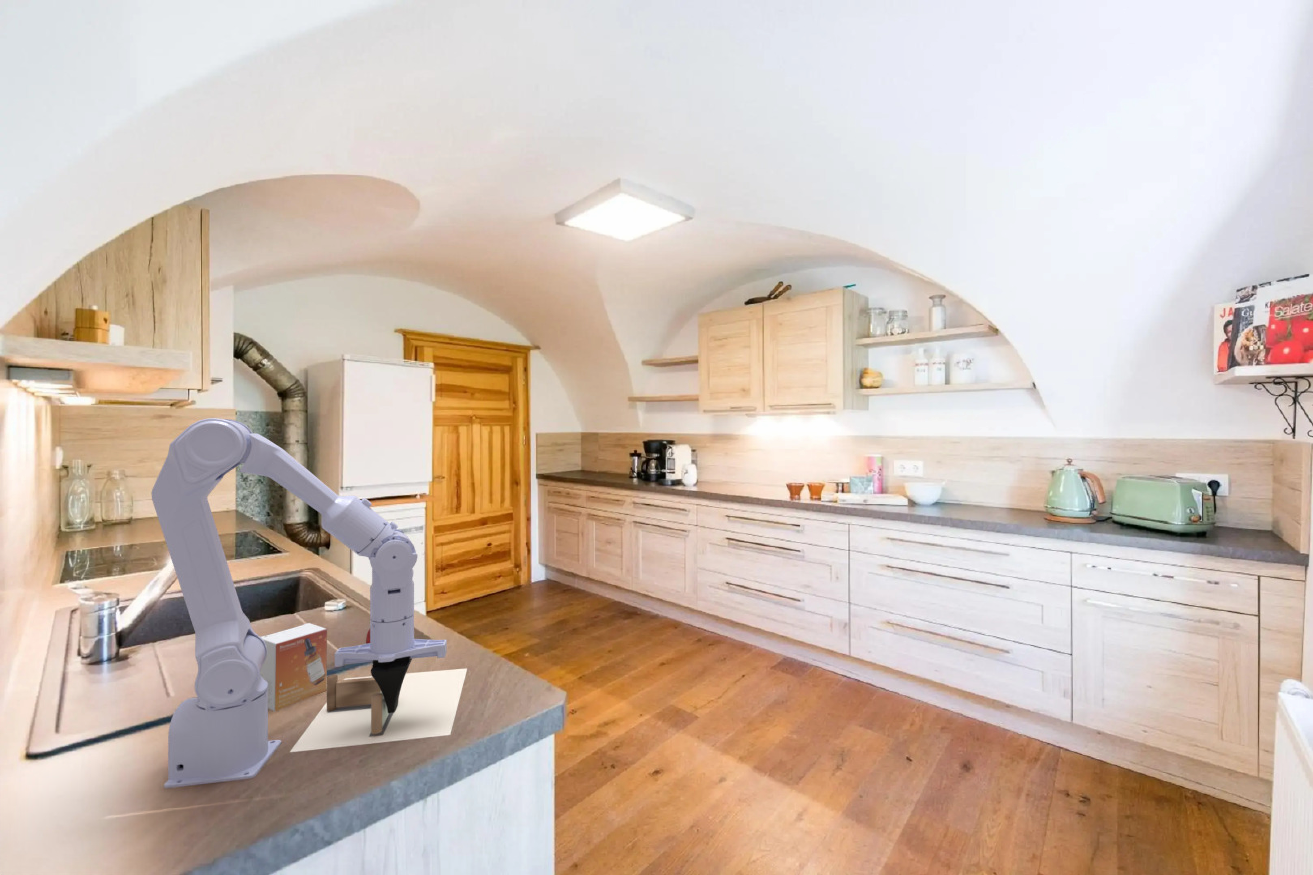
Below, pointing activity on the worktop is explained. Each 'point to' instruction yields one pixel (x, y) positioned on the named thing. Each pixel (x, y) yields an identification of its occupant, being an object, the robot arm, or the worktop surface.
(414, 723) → the card
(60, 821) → the worktop surface
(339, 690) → the fixed fence
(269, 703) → the small box
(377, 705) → the panel
